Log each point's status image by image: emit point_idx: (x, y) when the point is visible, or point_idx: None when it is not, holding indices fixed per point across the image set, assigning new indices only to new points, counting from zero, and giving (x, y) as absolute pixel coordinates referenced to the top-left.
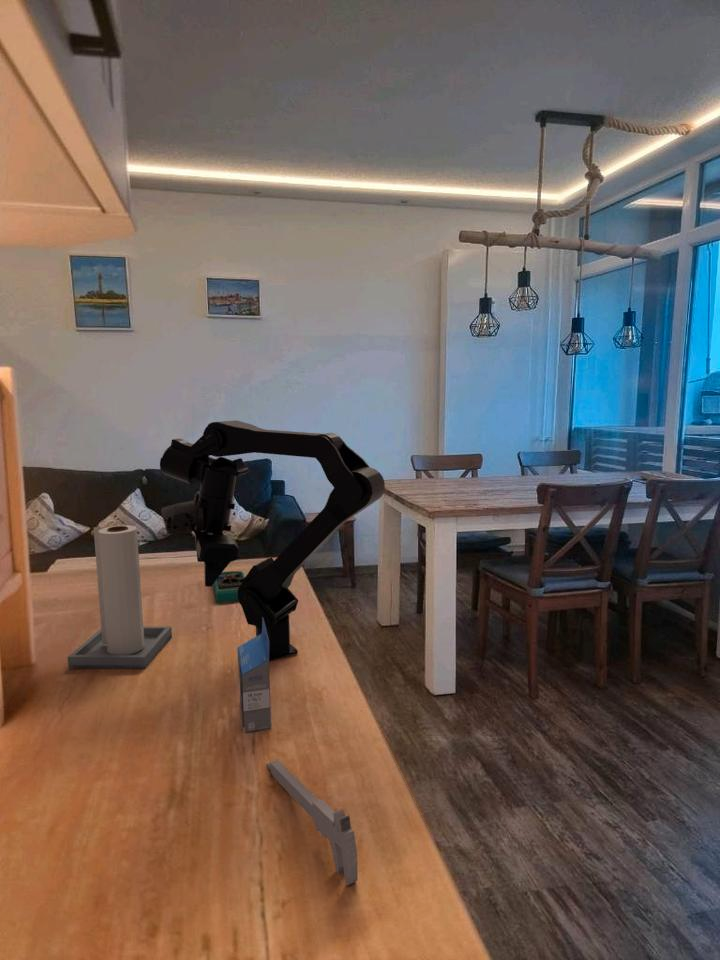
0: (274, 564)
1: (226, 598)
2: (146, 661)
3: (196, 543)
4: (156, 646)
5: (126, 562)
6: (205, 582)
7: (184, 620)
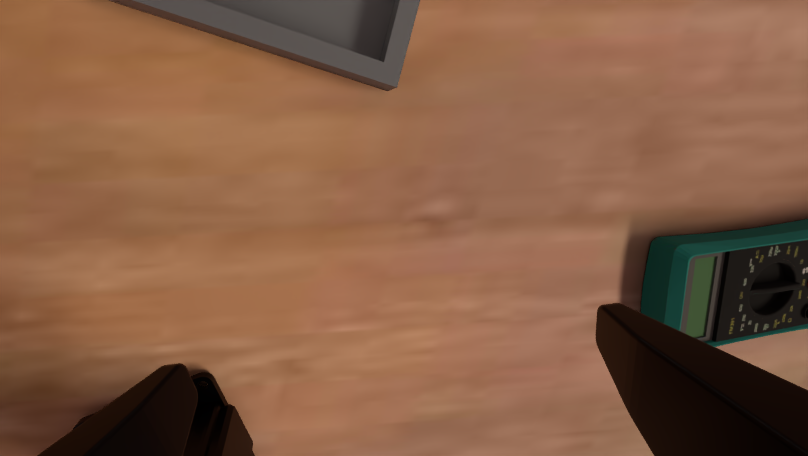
0: None
1: (654, 274)
2: None
3: (758, 423)
4: (213, 29)
5: None
6: (127, 391)
7: (532, 132)
